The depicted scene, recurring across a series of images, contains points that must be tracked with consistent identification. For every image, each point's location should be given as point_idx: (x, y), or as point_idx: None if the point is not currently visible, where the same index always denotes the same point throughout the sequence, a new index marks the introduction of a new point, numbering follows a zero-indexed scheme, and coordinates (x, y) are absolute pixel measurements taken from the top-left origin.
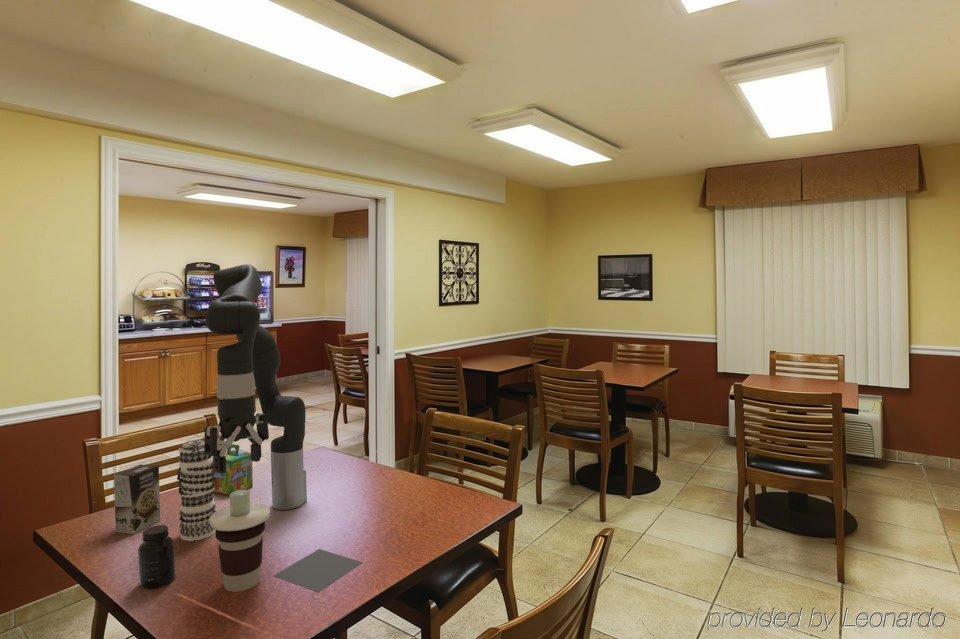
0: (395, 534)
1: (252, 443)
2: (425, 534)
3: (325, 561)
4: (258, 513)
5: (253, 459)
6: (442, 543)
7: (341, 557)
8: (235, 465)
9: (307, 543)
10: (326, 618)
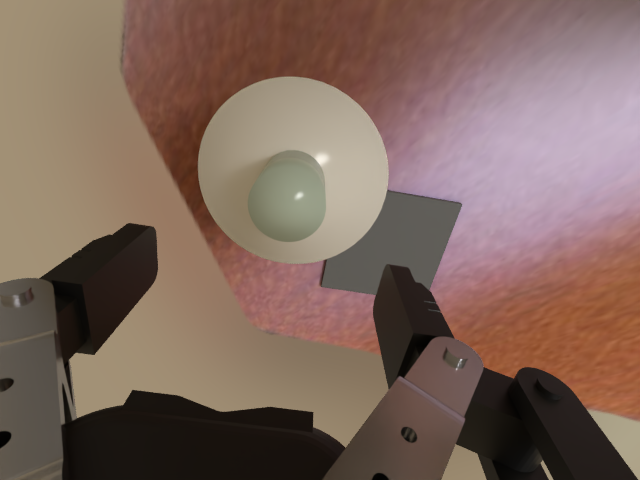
0: (544, 300)
1: (417, 356)
2: (545, 343)
3: (415, 244)
4: (311, 237)
5: (382, 285)
6: (512, 373)
7: (434, 262)
8: None
9: (493, 155)
10: (275, 321)
